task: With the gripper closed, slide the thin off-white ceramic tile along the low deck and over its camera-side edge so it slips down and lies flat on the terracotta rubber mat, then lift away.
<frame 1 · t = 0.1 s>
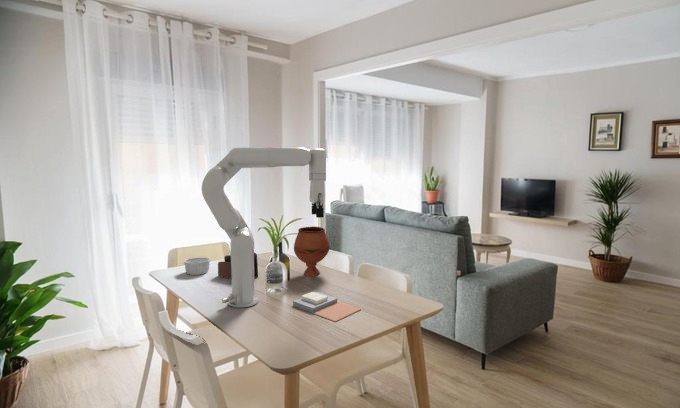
hand: (317, 215, 172), 37 cm above the table, tool pointing down, fingers open, 9 cm apart
goblet: (311, 274, 210), on the table
ceramic tile: (314, 297, 166), point 3 cm above the table, touching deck
ramekin: (197, 272, 211), on the table
letter holder: (238, 277, 204), on the table
mat: (337, 311, 158), on the table
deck: (315, 304, 166), on the table
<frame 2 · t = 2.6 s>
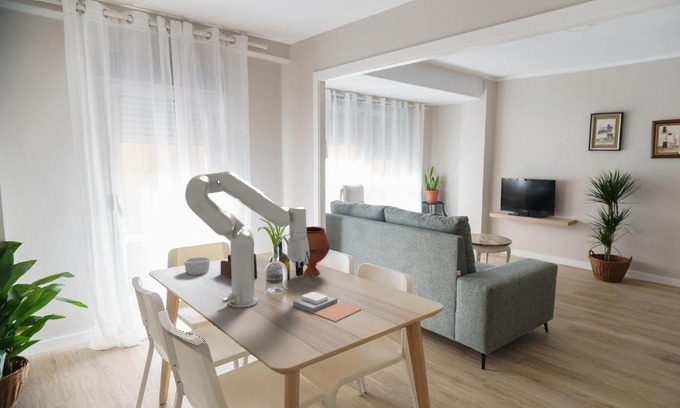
hand: (299, 275, 172), 11 cm above the table, tool pointing down, fingers closed
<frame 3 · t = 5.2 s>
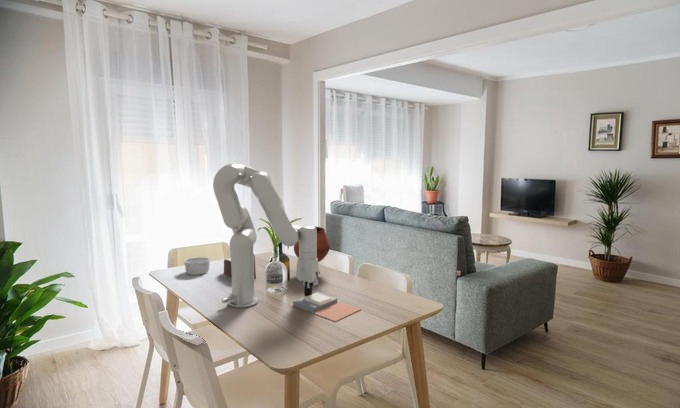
hand: (308, 295, 169), 3 cm above the table, tool pointing down, fingers closed
ceramic tile: (317, 299, 165), point 3 cm above the table, touching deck
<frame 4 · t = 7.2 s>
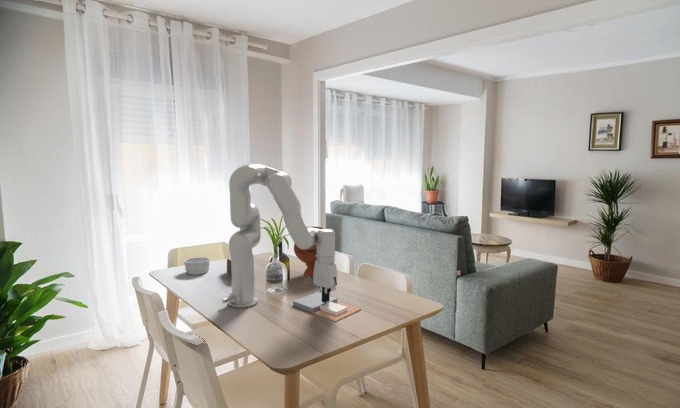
hand: (325, 301, 162), 3 cm above the table, tool pointing down, fingers closed
ceramic tile: (333, 308, 159), point 1 cm above the table, touching mat
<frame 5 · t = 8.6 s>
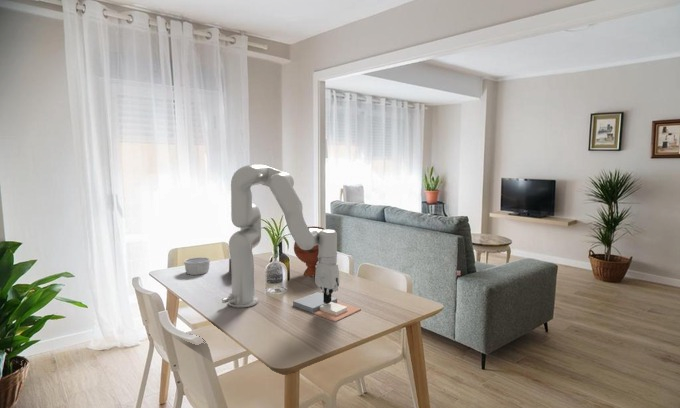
hand: (327, 302, 162), 3 cm above the table, tool pointing down, fingers closed
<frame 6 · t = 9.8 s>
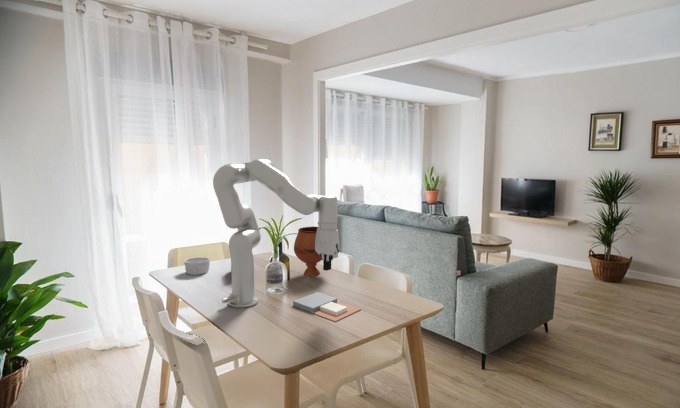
hand: (327, 269, 160), 17 cm above the table, tool pointing down, fingers closed
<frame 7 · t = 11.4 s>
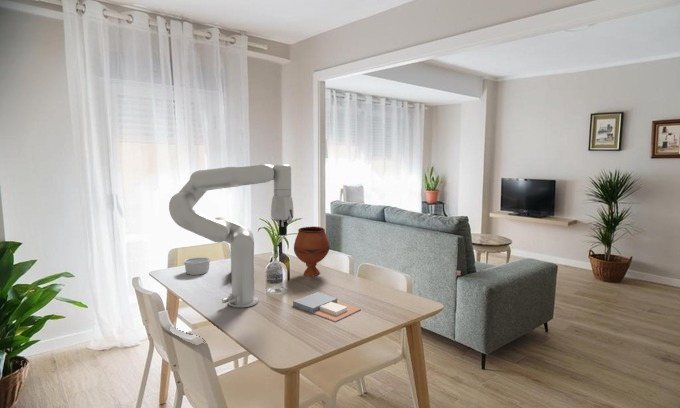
hand: (282, 235, 168), 29 cm above the table, tool pointing down, fingers closed
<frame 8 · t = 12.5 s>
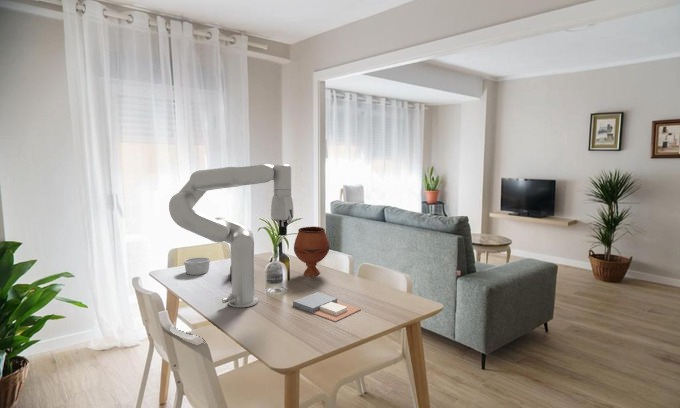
hand: (282, 235, 168), 29 cm above the table, tool pointing down, fingers closed
at the end: ceramic tile inside the target area on the mat (2.4 cm from its centre), point 1.1 cm above the mat's base; ceramic tile moved 11.5 cm from its start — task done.
